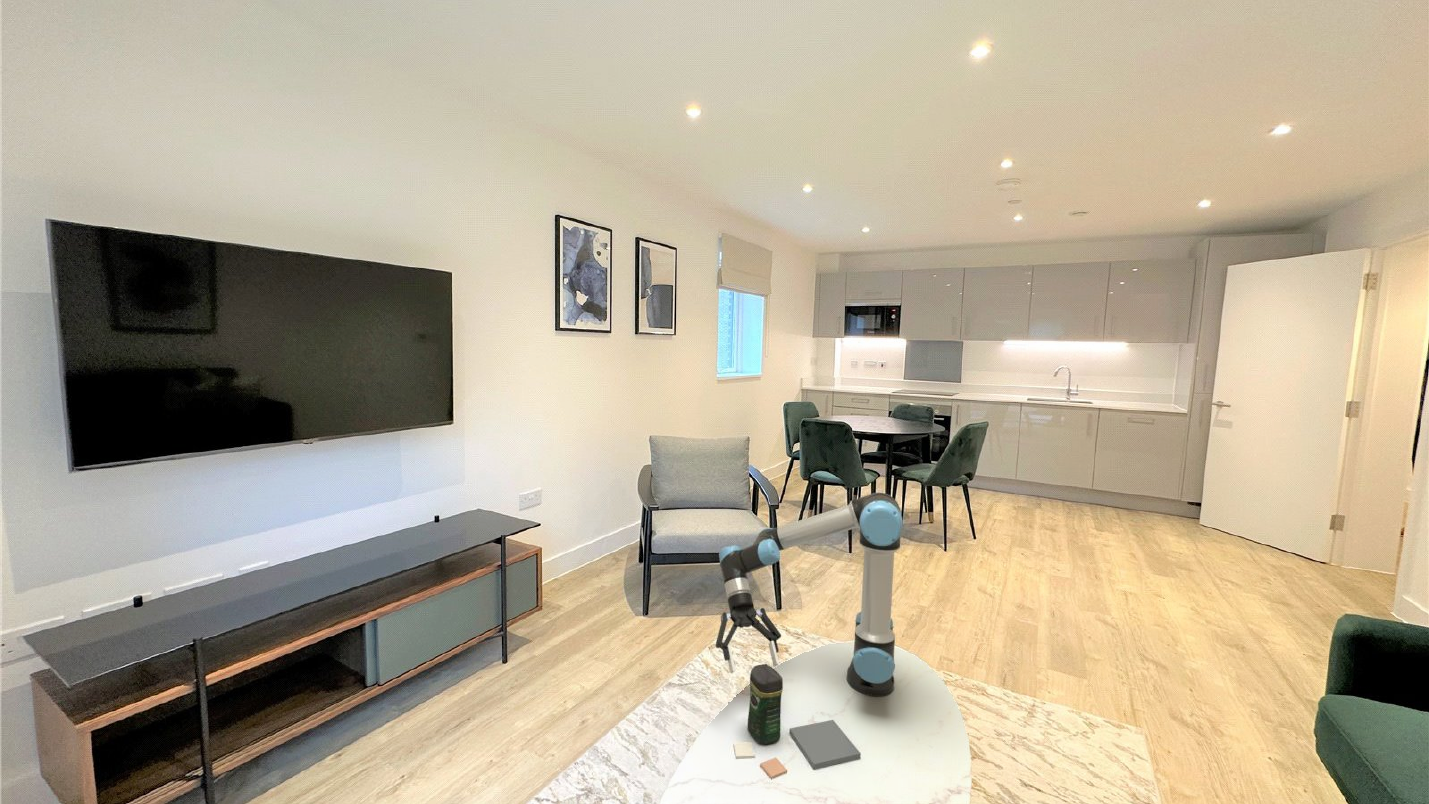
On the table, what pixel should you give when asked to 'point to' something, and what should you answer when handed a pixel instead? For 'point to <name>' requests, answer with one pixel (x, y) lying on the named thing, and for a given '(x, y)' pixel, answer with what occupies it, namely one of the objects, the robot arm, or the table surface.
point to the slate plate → (824, 744)
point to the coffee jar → (765, 704)
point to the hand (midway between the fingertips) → (755, 668)
